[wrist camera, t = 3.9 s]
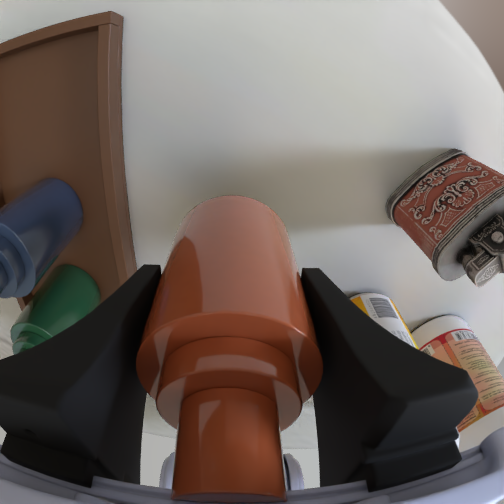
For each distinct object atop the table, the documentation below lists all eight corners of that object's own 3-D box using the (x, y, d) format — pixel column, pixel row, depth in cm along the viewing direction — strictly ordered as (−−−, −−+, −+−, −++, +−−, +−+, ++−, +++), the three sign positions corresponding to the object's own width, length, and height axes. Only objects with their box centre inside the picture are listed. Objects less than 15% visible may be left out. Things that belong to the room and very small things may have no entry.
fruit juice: (470, 299, 27) (593, 530, 2) (460, 355, 31) (543, 547, 7) (390, 332, 28) (485, 608, 4) (392, 384, 32) (455, 598, 8)
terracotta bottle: (283, 295, 15) (320, 519, 6) (179, 293, 15) (140, 516, 6) (295, 197, 13) (392, 453, 4) (171, 194, 13) (64, 447, 4)
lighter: (397, 232, 22) (467, 320, 14) (377, 199, 21) (454, 282, 12) (472, 174, 20) (561, 234, 11) (457, 138, 19) (557, 188, 10)
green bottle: (107, 315, 25) (66, 420, 16) (58, 310, 24) (10, 403, 15) (94, 264, 22) (34, 371, 13) (42, 262, 22) (-24, 355, 13)
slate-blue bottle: (89, 241, 21) (19, 344, 12) (36, 240, 21) (-39, 330, 12) (78, 175, 19) (-19, 256, 10) (23, 180, 18) (-74, 253, 9)
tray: (151, 341, 27) (146, 358, 25) (44, 329, 26) (36, 343, 24) (123, 16, 14) (111, 10, 12) (-11, 54, 13) (-29, 56, 12)
